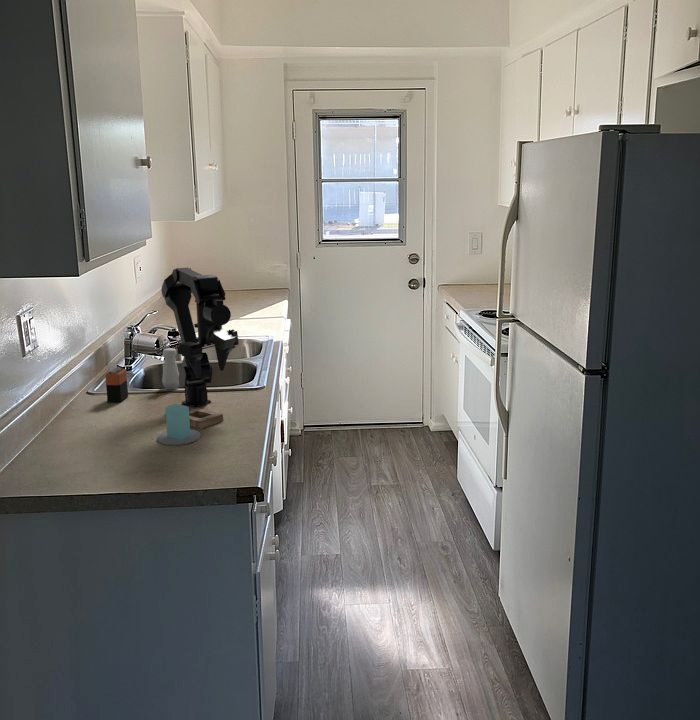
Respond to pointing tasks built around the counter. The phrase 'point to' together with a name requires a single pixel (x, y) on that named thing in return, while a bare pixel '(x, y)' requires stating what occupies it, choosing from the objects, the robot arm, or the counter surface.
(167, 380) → the salt shaker
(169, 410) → the plug
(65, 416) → the counter surface
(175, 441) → the coaster
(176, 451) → the counter surface
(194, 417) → the brown flat piece
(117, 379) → the battery
